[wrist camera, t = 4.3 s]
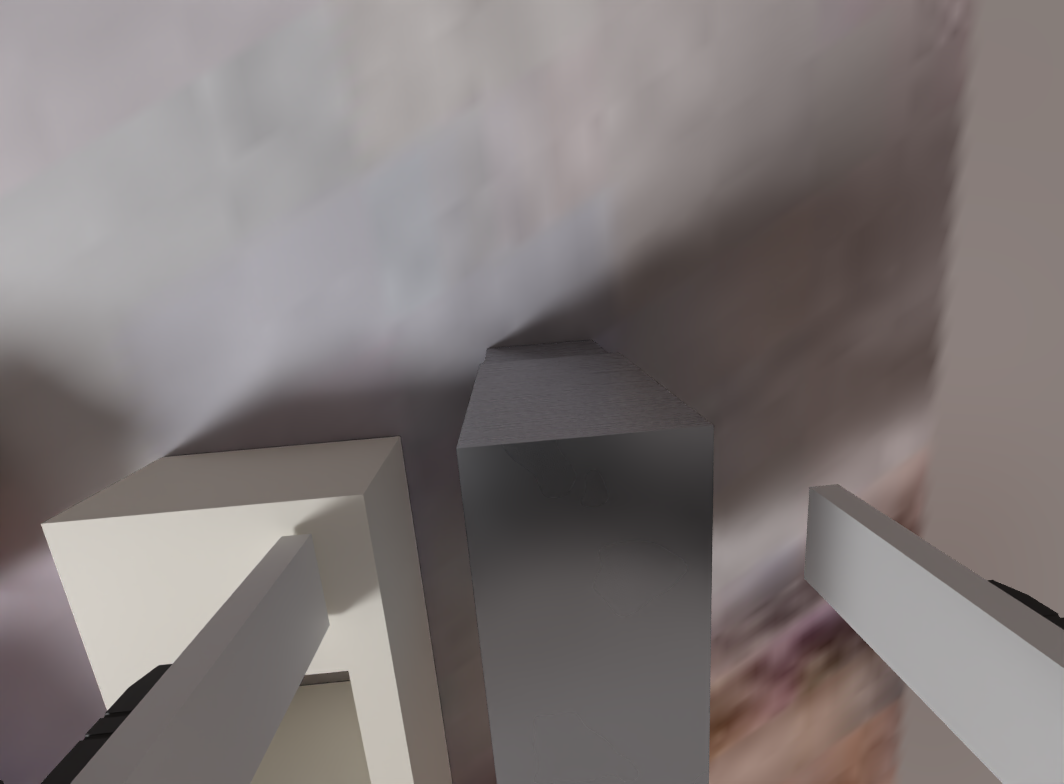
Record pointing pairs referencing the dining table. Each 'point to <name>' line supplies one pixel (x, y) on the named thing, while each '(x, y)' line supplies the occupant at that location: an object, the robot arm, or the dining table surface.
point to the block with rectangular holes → (229, 557)
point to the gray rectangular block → (589, 567)
